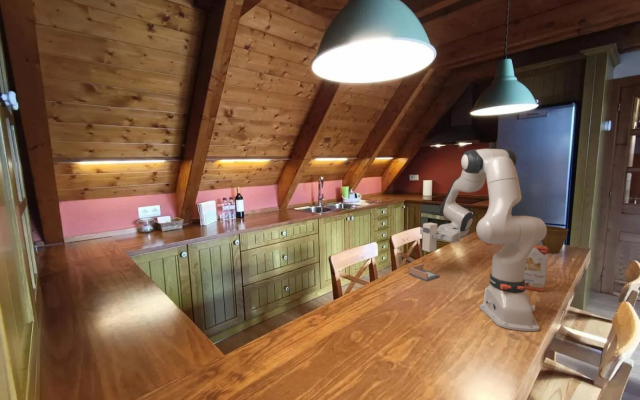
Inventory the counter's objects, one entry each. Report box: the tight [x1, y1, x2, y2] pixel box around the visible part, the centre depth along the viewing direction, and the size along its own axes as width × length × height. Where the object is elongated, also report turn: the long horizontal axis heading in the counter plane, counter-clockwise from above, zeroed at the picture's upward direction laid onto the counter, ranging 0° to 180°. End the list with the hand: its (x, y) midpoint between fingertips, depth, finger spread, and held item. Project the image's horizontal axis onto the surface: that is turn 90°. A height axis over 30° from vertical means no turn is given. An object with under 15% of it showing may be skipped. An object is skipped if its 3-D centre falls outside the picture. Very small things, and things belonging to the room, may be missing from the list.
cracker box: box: [524, 244, 549, 293], centre depth 141 cm, size 14×6×21 cm, turn 62°
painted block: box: [421, 222, 438, 253], centre depth 155 cm, size 4×6×14 cm
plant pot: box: [541, 225, 569, 254], centre depth 196 cm, size 15×15×16 cm
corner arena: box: [408, 263, 440, 282], centre depth 158 cm, size 11×10×4 cm
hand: (428, 235), depth 154 cm, fingers closed on painted block, 4 cm apart
